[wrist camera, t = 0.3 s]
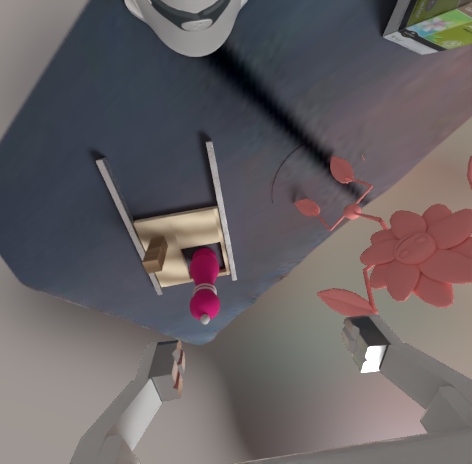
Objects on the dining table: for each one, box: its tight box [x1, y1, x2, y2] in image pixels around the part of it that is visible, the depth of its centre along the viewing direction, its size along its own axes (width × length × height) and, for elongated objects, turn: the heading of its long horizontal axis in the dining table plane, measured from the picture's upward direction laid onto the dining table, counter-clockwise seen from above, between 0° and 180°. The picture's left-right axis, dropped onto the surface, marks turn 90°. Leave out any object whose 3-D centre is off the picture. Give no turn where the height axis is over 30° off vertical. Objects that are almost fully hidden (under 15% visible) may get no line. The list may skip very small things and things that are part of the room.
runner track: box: [96, 140, 237, 295], centre depth 50 cm, size 36×22×2 cm, turn 8°
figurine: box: [271, 145, 472, 317], centre depth 34 cm, size 15×26×35 cm, turn 143°
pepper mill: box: [190, 248, 220, 324], centre depth 48 cm, size 7×7×20 cm
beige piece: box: [133, 206, 231, 287], centre depth 50 cm, size 20×19×10 cm
